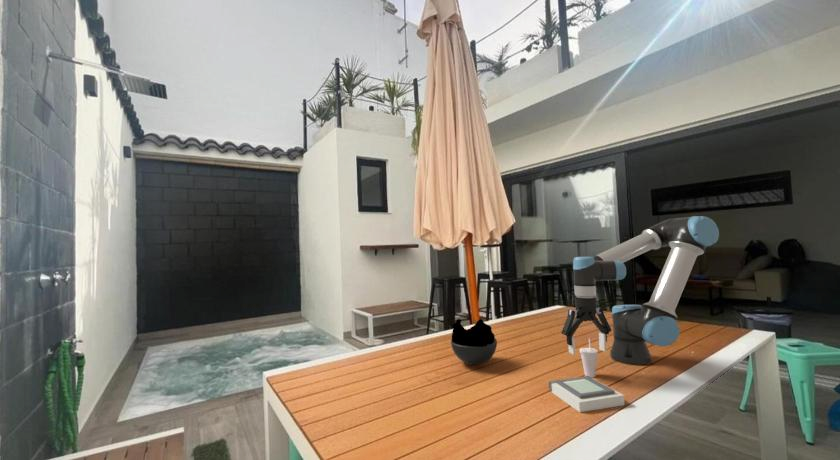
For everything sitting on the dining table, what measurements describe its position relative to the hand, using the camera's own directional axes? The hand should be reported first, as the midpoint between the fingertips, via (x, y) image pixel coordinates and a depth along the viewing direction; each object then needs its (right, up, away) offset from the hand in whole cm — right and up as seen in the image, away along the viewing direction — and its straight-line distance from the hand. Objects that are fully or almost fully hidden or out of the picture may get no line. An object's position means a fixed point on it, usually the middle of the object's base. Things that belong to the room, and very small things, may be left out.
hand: (587, 352), depth 130 cm
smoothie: (+1, -9, 0) cm, 9 cm away
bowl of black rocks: (-41, -12, +17) cm, 46 cm away
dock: (-10, -9, -18) cm, 22 cm away
